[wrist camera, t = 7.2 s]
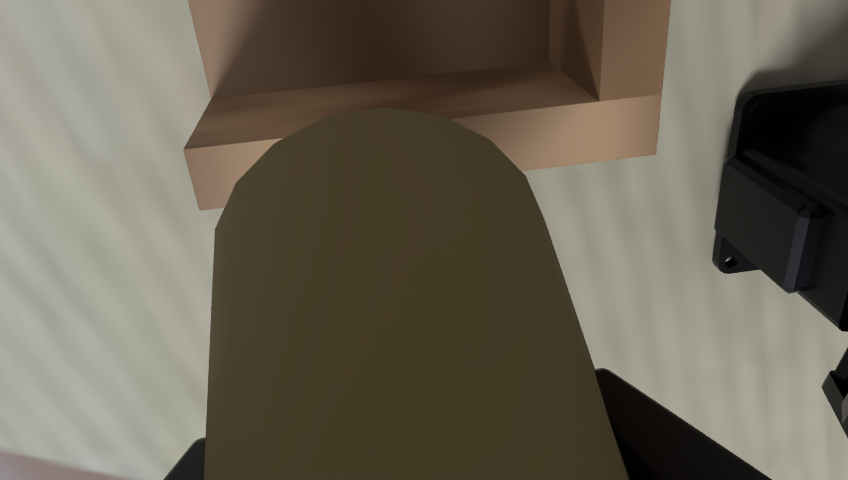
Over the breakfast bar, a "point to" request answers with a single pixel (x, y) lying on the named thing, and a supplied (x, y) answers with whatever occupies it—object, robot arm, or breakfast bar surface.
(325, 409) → the cork
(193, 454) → the robot arm
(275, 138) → the wooden box
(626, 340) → the breakfast bar surface
